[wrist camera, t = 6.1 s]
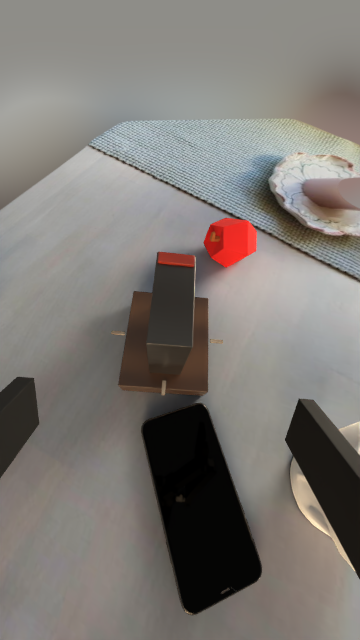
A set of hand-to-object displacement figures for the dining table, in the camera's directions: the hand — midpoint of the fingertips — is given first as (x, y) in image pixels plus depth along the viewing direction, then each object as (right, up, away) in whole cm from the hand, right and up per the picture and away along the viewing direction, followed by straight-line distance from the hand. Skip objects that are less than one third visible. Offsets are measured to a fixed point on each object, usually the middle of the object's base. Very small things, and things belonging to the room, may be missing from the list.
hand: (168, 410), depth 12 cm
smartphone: (+2, -12, +11) cm, 16 cm away
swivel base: (-1, +1, +17) cm, 17 cm away
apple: (+7, +14, +24) cm, 29 cm away
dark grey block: (-1, +3, +14) cm, 14 cm away
